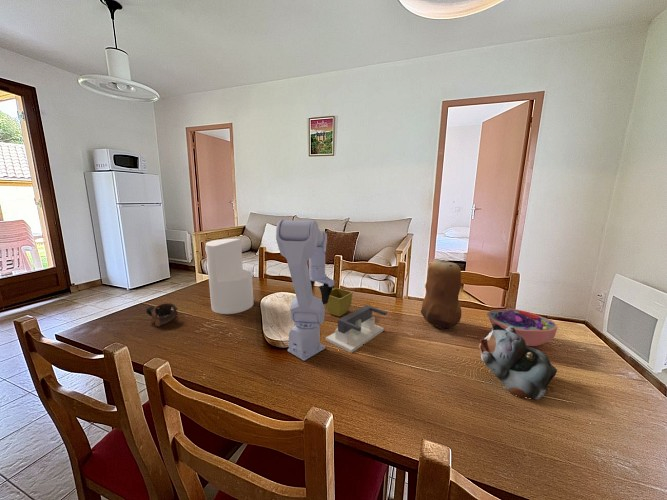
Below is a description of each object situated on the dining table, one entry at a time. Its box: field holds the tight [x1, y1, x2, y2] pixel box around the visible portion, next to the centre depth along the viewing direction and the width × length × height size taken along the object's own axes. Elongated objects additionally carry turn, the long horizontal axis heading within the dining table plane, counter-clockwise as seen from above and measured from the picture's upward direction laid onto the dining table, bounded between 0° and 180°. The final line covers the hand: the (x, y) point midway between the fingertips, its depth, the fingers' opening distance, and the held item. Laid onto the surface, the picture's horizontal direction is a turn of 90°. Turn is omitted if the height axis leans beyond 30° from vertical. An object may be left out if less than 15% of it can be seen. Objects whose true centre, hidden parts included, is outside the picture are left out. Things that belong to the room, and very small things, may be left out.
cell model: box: [486, 308, 559, 347], centre depth 93 cm, size 17×20×11 cm
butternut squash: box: [420, 259, 462, 329], centre depth 102 cm, size 14×13×25 cm
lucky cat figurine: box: [478, 324, 558, 401], centre depth 74 cm, size 17×14×16 cm
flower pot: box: [324, 287, 354, 318], centre depth 113 cm, size 9×9×9 cm
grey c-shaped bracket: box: [337, 304, 387, 333], centre depth 94 cm, size 16×8×4 cm, turn 138°
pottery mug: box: [145, 302, 180, 327], centre depth 106 cm, size 12×10×8 cm
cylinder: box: [205, 238, 255, 315], centre depth 118 cm, size 17×17×28 cm
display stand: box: [325, 316, 385, 354], centre depth 97 cm, size 19×11×6 cm, turn 138°
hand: (317, 300), depth 101 cm, fingers open, 7 cm apart
